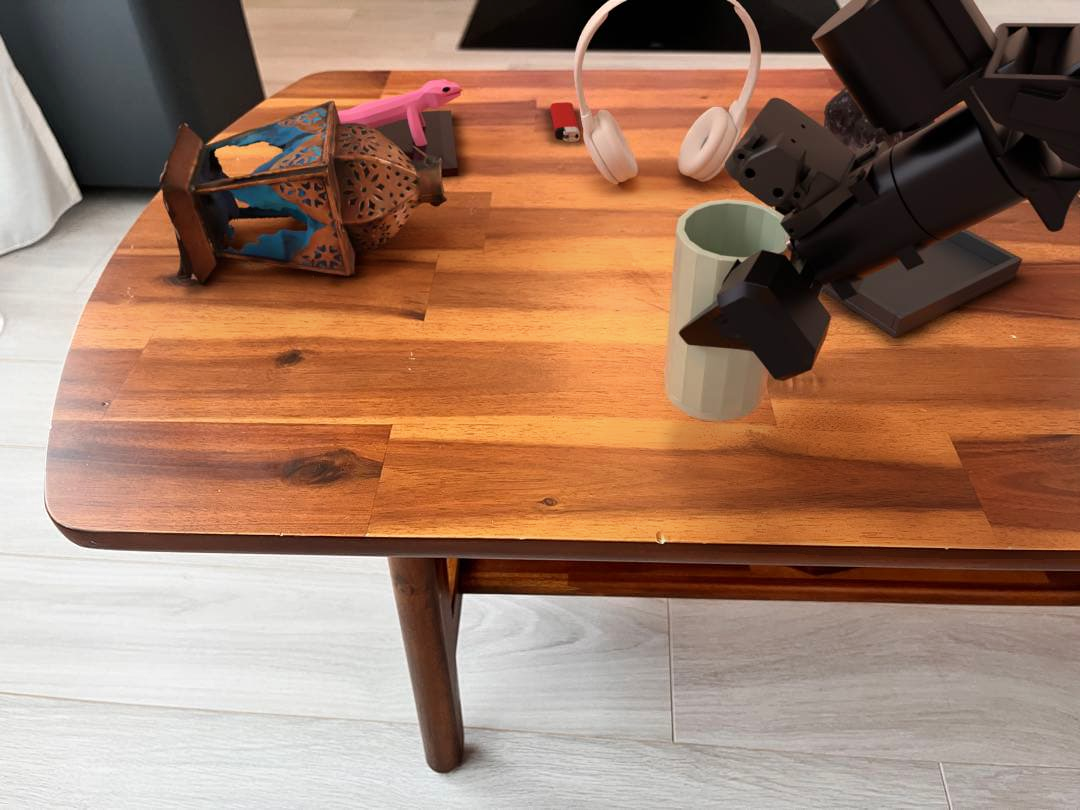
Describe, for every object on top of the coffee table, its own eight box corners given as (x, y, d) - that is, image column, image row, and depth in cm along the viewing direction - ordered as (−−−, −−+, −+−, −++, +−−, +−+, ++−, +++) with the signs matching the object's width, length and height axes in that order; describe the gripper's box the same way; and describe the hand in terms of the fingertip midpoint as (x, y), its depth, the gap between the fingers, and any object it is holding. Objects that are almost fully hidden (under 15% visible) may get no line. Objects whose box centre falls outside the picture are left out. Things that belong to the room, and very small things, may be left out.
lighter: (573, 102, 109) (580, 131, 103) (573, 112, 110) (580, 141, 104) (550, 103, 109) (555, 132, 103) (550, 112, 109) (555, 142, 104)
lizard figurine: (471, 174, 98) (467, 109, 93) (285, 187, 96) (271, 122, 91) (463, 117, 109) (459, 56, 104) (296, 127, 107) (283, 66, 102)
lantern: (212, 315, 90) (460, 283, 91) (149, 272, 74) (451, 234, 75) (196, 160, 92) (439, 131, 93) (131, 86, 76) (426, 51, 77)
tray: (1015, 278, 82) (1023, 258, 81) (894, 338, 76) (901, 318, 75) (878, 203, 93) (883, 185, 91) (761, 251, 86) (765, 232, 85)
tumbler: (785, 396, 62) (818, 236, 54) (707, 436, 60) (729, 274, 51) (719, 344, 67) (740, 188, 58) (643, 379, 64) (653, 221, 55)
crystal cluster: (927, 136, 105) (943, 48, 99) (953, 182, 95) (973, 87, 89) (809, 138, 107) (818, 52, 101) (821, 184, 97) (832, 91, 91)
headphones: (569, 165, 99) (572, -26, 86) (734, 160, 100) (762, -31, 86) (574, 198, 94) (578, -1, 81) (748, 192, 95) (780, -6, 81)
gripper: (874, 12, 52) (679, 150, 64) (786, 142, 40) (564, 286, 51) (975, 163, 55) (770, 271, 66) (921, 329, 43) (681, 427, 54)
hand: (703, 306), depth 59 cm, fingers closed on tumbler, 7 cm apart
